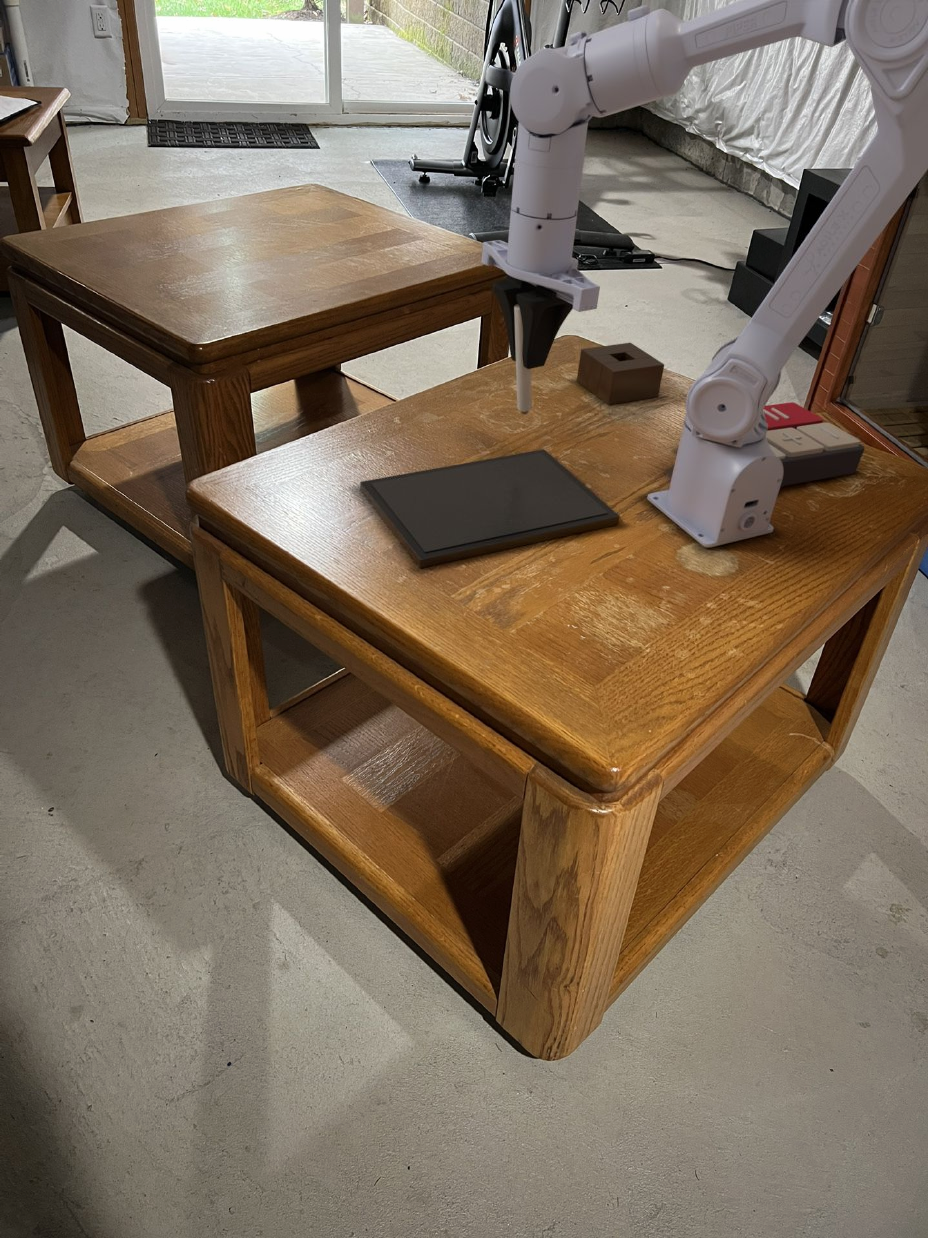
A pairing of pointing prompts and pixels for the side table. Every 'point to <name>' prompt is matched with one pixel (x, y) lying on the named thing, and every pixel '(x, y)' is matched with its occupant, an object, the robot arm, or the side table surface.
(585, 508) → the tablet
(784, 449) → the grey box with panels
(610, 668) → the side table surface
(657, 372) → the pen stand
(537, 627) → the side table surface
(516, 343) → the stylus
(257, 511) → the side table surface
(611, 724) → the side table surface
